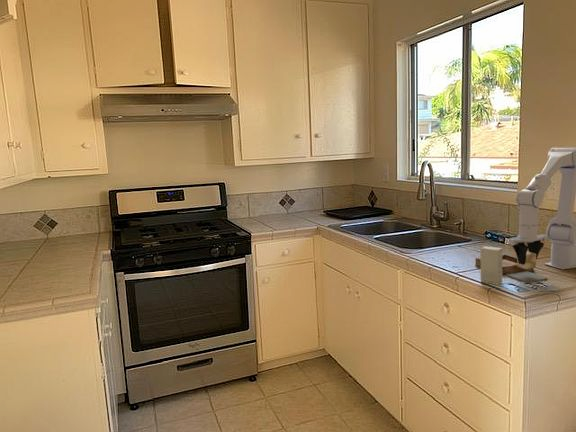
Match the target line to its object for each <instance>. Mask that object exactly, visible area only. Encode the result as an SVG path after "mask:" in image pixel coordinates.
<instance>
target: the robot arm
mask: <svg viewBox="0 0 576 432" xmlns="http://www.w3.org/2000/svg"><path fill="white" fill-rule="evenodd" d="M558 171H559V172H560V173H561V178H560V179H561V180H560V187H559V196H558V203H557V212H556V216H555V217H553V218H552V219H550V220H549V221H548V226H547V227H546V229H545V230H546V233H545V234H538V233H539V232H538V231H539V214H540V213H539V212H540V210H539V209H540V207H541V206H542V204H543V202H544V198H545V193H546V192H547V191H548V189H549V188H550V186H551V185H552V180H551V179H552V178H553V177H554V176H555V174H557V173H558ZM515 199H516V204H517V210H518V211H519V220H518V222H519V223H518V226H519V227H518V235H516V236H515V237H511V238H508V245H510V246H511V247H512V249H513V250H514V252H515V253H516V257H517V258H518V262H519V264H522V265H524V264H525V261H526V253H527V251H528V252H532V253H535V254H536V260H537V259H538V256H539V253H540V252H541V250H542V249H543V247H545V245H544V244H545V243H544V242H547V241H548V240H549V243H551V248H550V262H544V265H545V266H550V267H552V268H555V269H559V270H568V269H574V268H576V219H575V217H574V211H575V202H576V201H575V200H576V147H551V149H549V151H548V153H547V162H546V164H545V165H544V167H543V169H542V170H541V173H537V174H535V176H533V178H532V179H531V181H530V182H529V183H528V185H527V186H526V187H525V188H523V189H522V190H520V191H518V192H517V196H516V198H515Z"/></svg>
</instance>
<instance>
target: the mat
mask: <svg viewBox="0 0 576 432" xmlns="http://www.w3.org/2000/svg"><path fill="white" fill-rule="evenodd" d="M505 276H506V277H507V276H508V278H510V277H511V278H510V279H513V280H516V281H519V282H521V281H522V282H521V283H524V284H528V283H529V284H530V283H536V282H541V281H548V278H547V277H546V276H543V275H539V274H536V273H534V272H531V271H526V272H519V273H512V274H506V275H505Z"/></svg>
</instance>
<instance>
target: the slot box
mask: <svg viewBox="0 0 576 432" xmlns="http://www.w3.org/2000/svg"><path fill="white" fill-rule="evenodd" d="M474 263H475V266H476V267H478V268H481V256H480V257H475V262H474ZM534 269H535V268H531V269H524V268H521V267H518V266H517V256H514V255H510V254H506V253H502V276H506V274H512V273H519V272H526V271H527V272H532V271H534Z"/></svg>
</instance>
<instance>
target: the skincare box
mask: <svg viewBox="0 0 576 432" xmlns="http://www.w3.org/2000/svg"><path fill="white" fill-rule="evenodd" d="M502 254H503V247H494V246H487V245H486V246H483V247H481V248H480V257H481V267H480V282H481V283H484V284H485V283H486V284H489V285H490V284H493V285H496V284H497V286H498V285H500V284H501V282H502V283H503V275H502Z"/></svg>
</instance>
